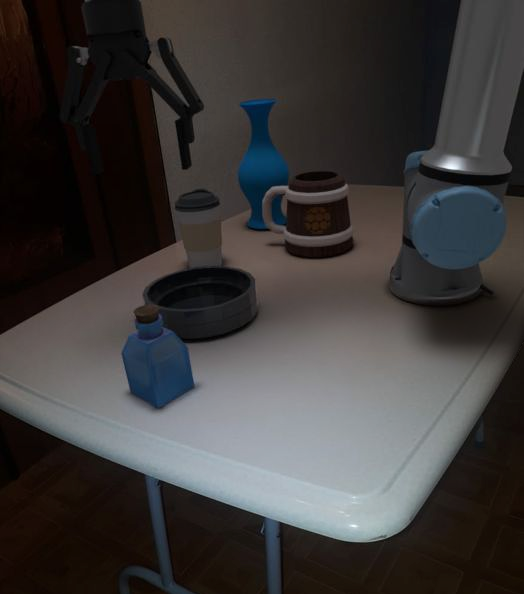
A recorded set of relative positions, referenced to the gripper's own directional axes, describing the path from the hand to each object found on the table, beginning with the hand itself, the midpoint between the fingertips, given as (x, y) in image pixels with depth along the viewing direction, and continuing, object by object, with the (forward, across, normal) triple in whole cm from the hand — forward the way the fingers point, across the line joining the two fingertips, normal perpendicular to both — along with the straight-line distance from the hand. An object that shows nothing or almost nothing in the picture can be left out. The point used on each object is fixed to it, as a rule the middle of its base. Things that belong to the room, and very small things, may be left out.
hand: (142, 170), depth 81 cm
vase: (+25, -10, -54) cm, 60 cm away
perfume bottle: (+25, -5, +20) cm, 32 cm away
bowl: (+25, -5, -3) cm, 26 cm away
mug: (+25, -21, -36) cm, 49 cm away
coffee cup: (+25, 0, -27) cm, 37 cm away
